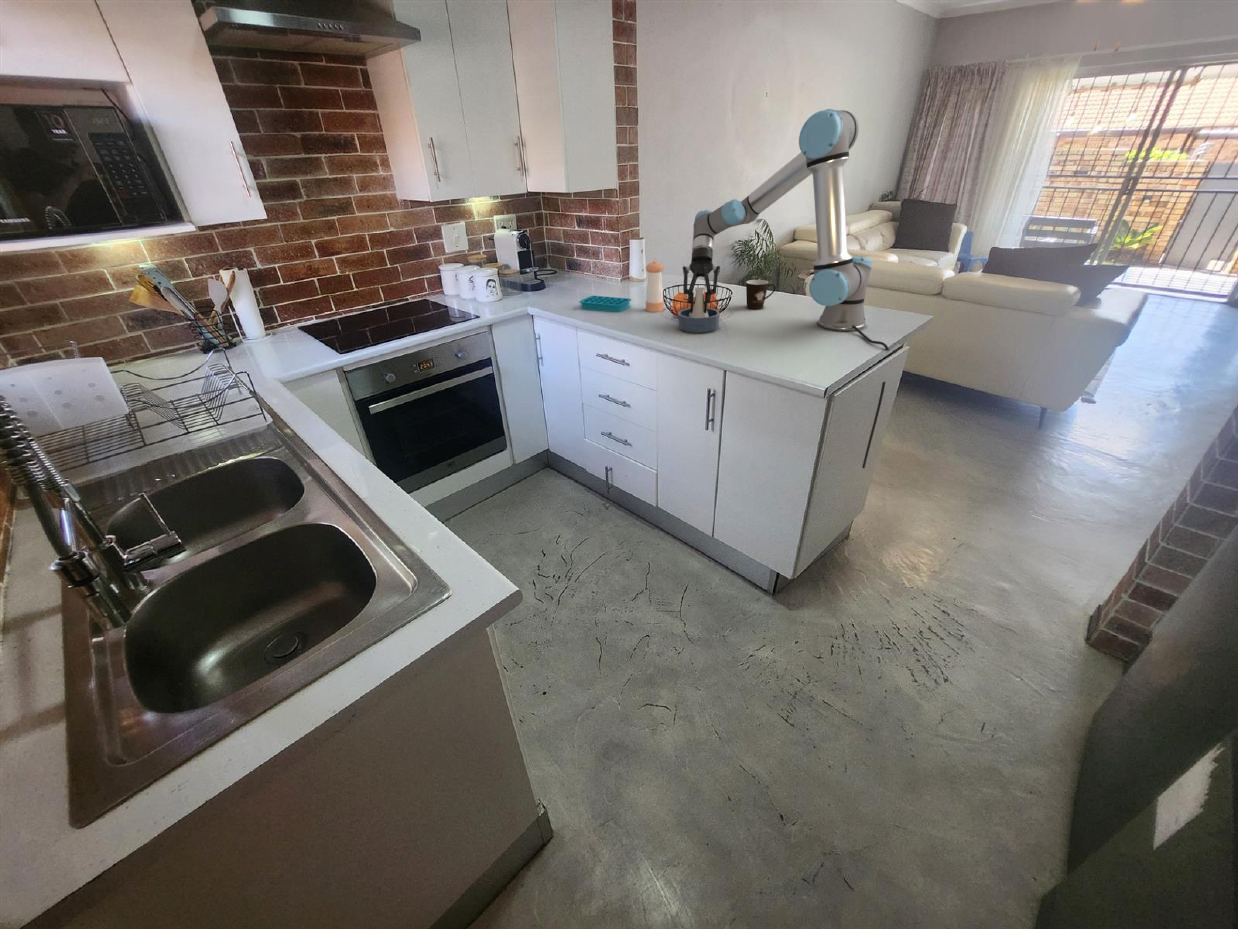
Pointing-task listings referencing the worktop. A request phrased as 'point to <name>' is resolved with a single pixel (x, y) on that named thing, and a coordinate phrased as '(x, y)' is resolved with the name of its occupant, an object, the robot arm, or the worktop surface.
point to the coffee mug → (757, 293)
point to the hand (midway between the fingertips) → (698, 310)
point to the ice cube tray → (605, 303)
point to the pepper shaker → (654, 287)
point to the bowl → (698, 321)
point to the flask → (698, 305)
